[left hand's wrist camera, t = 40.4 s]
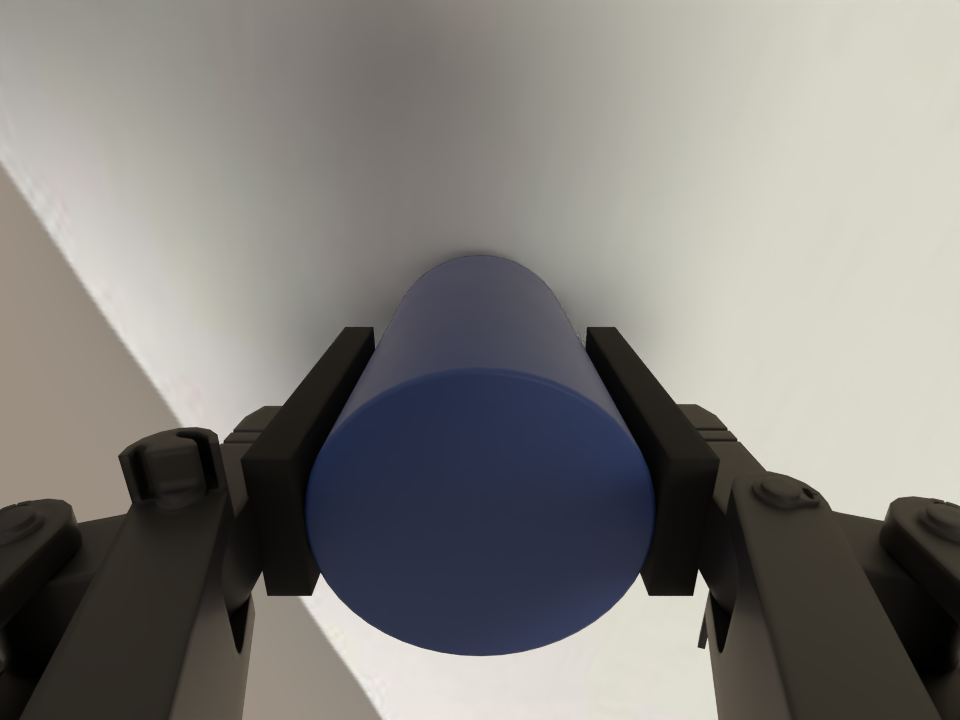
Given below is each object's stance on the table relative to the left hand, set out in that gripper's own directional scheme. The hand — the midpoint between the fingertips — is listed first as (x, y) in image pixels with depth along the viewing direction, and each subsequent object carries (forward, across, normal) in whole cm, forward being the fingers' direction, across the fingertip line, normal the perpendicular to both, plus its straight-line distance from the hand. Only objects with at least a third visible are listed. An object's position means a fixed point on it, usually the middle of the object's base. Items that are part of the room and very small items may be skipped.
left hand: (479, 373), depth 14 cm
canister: (+3, 0, 0) cm, 3 cm away
